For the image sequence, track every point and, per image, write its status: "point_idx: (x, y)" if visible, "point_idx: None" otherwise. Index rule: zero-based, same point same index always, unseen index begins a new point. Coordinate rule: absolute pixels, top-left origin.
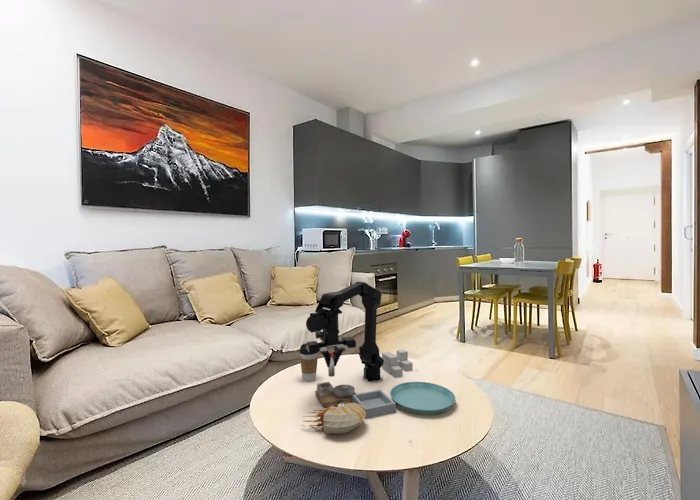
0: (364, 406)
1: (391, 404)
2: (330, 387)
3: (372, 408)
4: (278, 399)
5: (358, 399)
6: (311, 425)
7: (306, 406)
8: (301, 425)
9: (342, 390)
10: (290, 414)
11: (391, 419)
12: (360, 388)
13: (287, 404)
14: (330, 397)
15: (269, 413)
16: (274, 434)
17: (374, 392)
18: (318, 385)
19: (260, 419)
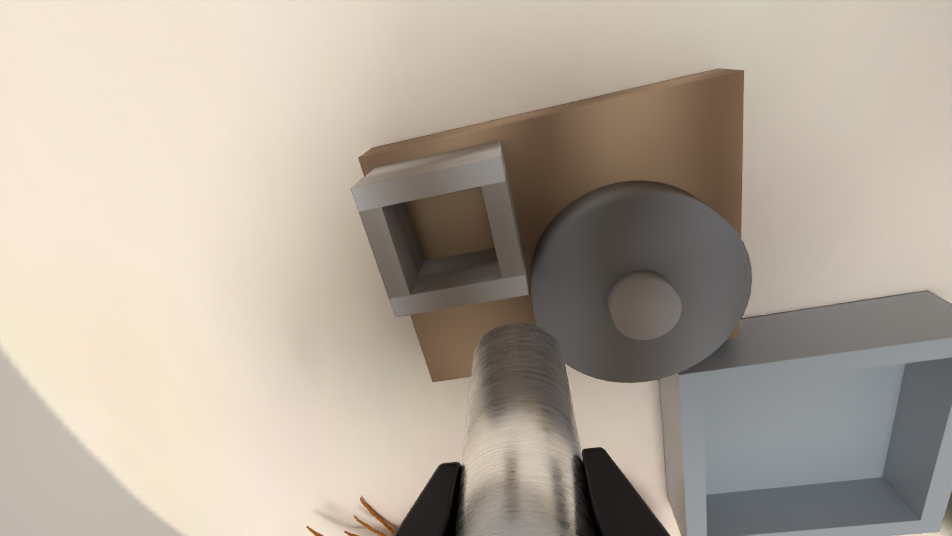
0: (699, 525)
1: (898, 532)
2: (499, 297)
3: None
4: (57, 158)
5: (700, 444)
6: (361, 522)
7: (313, 308)
8: (308, 527)
9: (613, 325)
10: (224, 381)
11: None
12: (862, 56)
13: (163, 255)
14: (493, 312)
15: (84, 348)
16: (194, 519)
17: (901, 360)
18: (371, 238)
19: (61, 398)
